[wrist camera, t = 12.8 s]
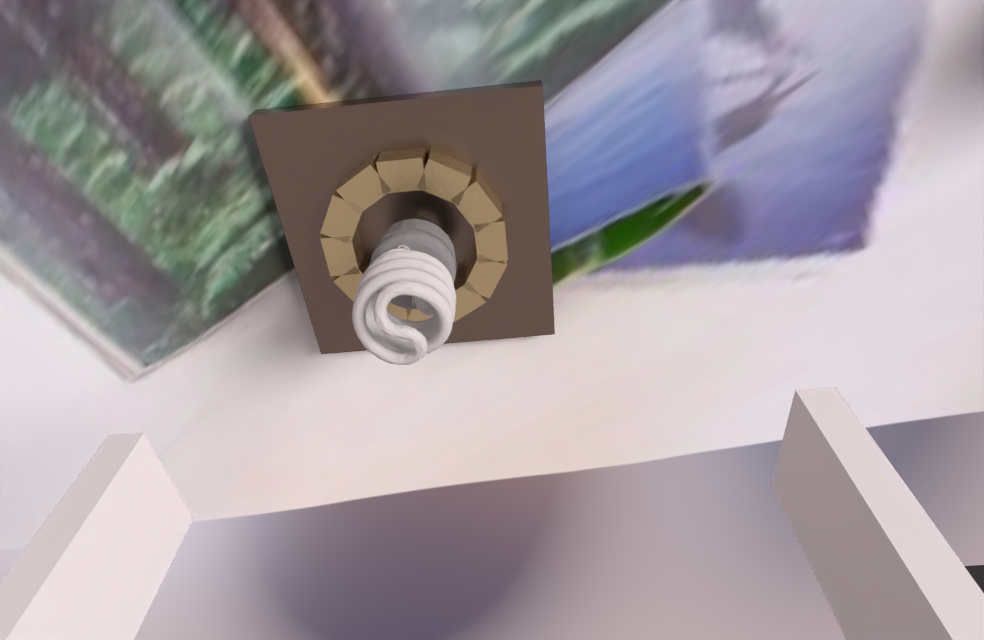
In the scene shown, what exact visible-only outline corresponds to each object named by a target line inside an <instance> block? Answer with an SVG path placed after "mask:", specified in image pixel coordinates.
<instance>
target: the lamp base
mask: <svg viewBox="0 0 984 640" xmlns="http://www.w3.org/2000/svg"><path fill="white" fill-rule="evenodd" d="M249 119H250V123H251V126H252V129H253V132H254V136H255V139H256V142H257V145H258V149H259V152H260V155H261V158H262V162H263V165H264V168H265V171H266V175H267V178H268V181H269V185H270V188H271V191H272V194H273V198H274V201H275V204H276V207H277V211H278V214H279V217H280V220H281V224H282V227H283V230H284V233H285V237H286V240H287V243H288V246H289V250H290V253H291V256H292V260H293V263H294V266H295V269H296V273H297V276H298V279H299V282H300V286H301V289H302V292H303V295H304V299H305V302H306V305H307V308H308V312H309V315H310V318H311V321H312V325H313V328H314V331H315V335H316V338H317V341H318V344H319V348H320V351H321V354H328V353H340V352H352V351H363V350H367V349H366V348H365V347H364V345H363V344H362V342H361V341H360V340H359V338H358V337H357V334H356V331H355V329H354V326H353V322H352V310H353V304H354V297H355V293H356V289H357V287H358V285H359V283H360V280H361V277H362V276H363V274H364V272H365V271H366V269H367V268H368V267H369V266H370V261H371V257H372V253H373V250H374V247H375V245H376V244H377V242H378V241H379V239H380V238H381V236H382V235H383V233H384V232H385V231H386V230H387V229H388V228H389V227H391V226H392V225H393V224H395V223H397V222H400V221H402V220H407V219H420V220H425V221H428V222H431V223H433V224H435V225H437V226H439V227H440V228H441V229H442V230H443V231H444V232H445V233H446V234H447V235H448V236H449V238H450V240H451V242H452V244H453V246H454V251H455V258H456V265H457V269H456V278H455V281H454V288H455V293H456V306H455V307H456V310H455V318H454V322H453V326H452V330H451V333H450V335H449V337H448V339H447V340H446V341H445V342H444V343H443V344H445V343H457V342H469V341H480V340H492V339H504V338H515V337H527V336H539V335H551V334H555V331H554V310H553V289H552V268H551V247H550V226H549V205H548V185H547V164H546V143H545V122H544V101H543V85H542V82H541V81H532V82H523V83H513V84H503V85H493V86H484V87H474V88H464V89H455V90H445V91H435V92H426V93H416V94H406V95H397V96H387V97H377V98H368V99H358V100H348V101H339V102H329V103H319V104H310V105H300V106H290V107H281V108H271V109H261V110H256V111H254V112H253V113H252V114H250V115H249ZM378 293H379V292H377V294H378ZM386 309H387V310H388V311H389V312H390V313H391V314H393V315H395V316H396V317H399V318H401V319H404V320H409V321H423V320H427V319H429V318H432V317H433V316H427V315H424V314H423V313H422V312H420V311H419V310H418V309H405V308H402V307H399V306H396V305H393V304H392V303H390V302H389V303H388V305H387V308H386Z"/></svg>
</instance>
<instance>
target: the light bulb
mask: <svg viewBox="0 0 984 640" xmlns="http://www.w3.org/2000/svg"><path fill="white" fill-rule="evenodd" d="M456 269H457V265H456V258H455V251H454V246H453V244H452V242H451V240H450V238H449V236H448V235H447V234H446V233H445V232H444V231H443V230H442V229H441V228H440V227H439V226H437V225H435V224H433V223H431V222H428V221H425V220H420V219H407V220H402V221H400V222H397V223H395V224H393V225H392V226H391V227H389V228H388V229H387V230H386V231H385V232H384V233H383V235H382V236H381V238H380V239H379V241H378V242H377V244H376V245H375V247H374V250H373V253H372V257H371V261H370V266H369V267H368V268H367V269H366V271H365V272H364V274H363V276H362V277H361V280H360V283H359V285H358V287H357V289H356V293H355V297H354V304H353V310H352V322H353V326H354V329H355V331H356V334H357V337H358V338H359V340H360V341H361V342H362V344H363V345H364V347H365V348H366V349H367V350H369V351H370V352H371V353H372V354H373V355H375V356H376V357H378V358H379V359H381V360H383V361H386V362H388V363H390V364H398V365H409V364H412V363H415V362H417V361H418V360H420V359H421V358H422V357H423V356H425V354H427V353H430V352H432V351H434V350H436V349H437V348H439V347H440V346H441V345H442V344H443V343H444V342H445V341H446V340H447V339H448V337H449V335H450V333H451V330H452V326H453V322H454V318H455V310H456V307H455V306H456V293H455V288H454V281H455V278H456ZM377 292H379V293H378V294H377ZM389 302H390V303H392V304H393V305H396V306H399V307H402V308H405V309H418V310H419V311H420V312H422V313H423V314H424V315H427V316H433V317H432V318H429V319H427V320H423V321H409V320H404V319H401V318H399V317H396V316H395V315H393V314H391V313H390V312H389V311H388V310H387V309H386V308H387V305H388V303H389Z"/></svg>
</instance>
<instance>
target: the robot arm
mask: <svg viewBox="0 0 984 640" xmlns="http://www.w3.org/2000/svg"><path fill="white" fill-rule="evenodd" d="M771 485H772V487H773V489H774V491H775V493H776V495H777V497H778V500H779V502H780V504H781V506H782V508H783V510H784V512H785V514H786V516H787V518H788V520H789V522H790V524H791V526H792V529H793V531H794V533H795V534H796V537H797V539H798V541H799V543H800V545H801V547H802V549H803V551H804V553H805V556H806V558H807V560H808V562H809V564H810V566H811V568H812V570H813V572H814V574H815V576H816V578H817V580H818V582H819V584H820V587H821V589H822V591H823V593H824V595H825V597H826V599H827V601H828V603H829V605H830V607H831V609H832V611H833V613H834V616H835V618H836V620H837V622H838V624H839V626H840V628H841V630H842V632H843V634H844V636H845V638H846V640H984V565H978V566H964V565H963V564H962V563H961V561H960V560H959V558H958V557H957V555H956V554H955V553H954V551H953V550H952V549H951V547H950V546H949V544H948V543H947V542H946V540H945V539H944V537H943V536H942V535H941V533H940V532H939V530H938V529H937V528H936V526H935V525H934V523H933V522H932V521H931V519H930V518H929V517H928V515H927V514H926V512H925V511H924V509H923V508H922V507H921V505H920V504H919V502H918V501H917V500H916V498H915V497H914V495H913V494H912V493H911V491H910V490H909V489H908V487H907V486H906V484H905V483H904V482H903V480H902V479H901V477H900V476H899V475H898V473H897V472H896V470H895V469H894V468H893V466H892V465H891V463H890V462H889V461H888V459H887V458H886V456H885V455H884V454H883V452H882V451H881V450H880V448H879V447H878V445H877V444H876V443H875V441H874V440H873V438H872V437H871V436H870V434H869V433H868V431H867V430H866V429H865V427H864V426H863V424H862V423H861V422H860V420H859V419H858V417H857V416H856V415H855V413H854V412H853V410H852V409H851V408H850V406H849V405H848V403H847V402H846V401H845V399H844V398H843V396H842V395H841V394H840V392H839V391H838V390H837V388H836V387H833V388H818V389H802V390H795V394H794V398H793V402H792V406H791V409H790V413H789V417H788V421H787V425H786V429H785V433H784V437H783V441H782V445H781V449H780V453H779V457H778V460H777V465H776V468H775V472H774V476H773V480H772V484H771ZM192 520H193V516H192V515H191V513H190V511H189V510H188V508H187V506H186V504H185V503H184V501H183V499H182V498H181V496H180V494H179V492H178V491H177V489H176V487H175V485H174V484H173V482H172V480H171V479H170V477H169V475H168V473H167V472H166V470H165V468H164V467H163V465H162V463H161V461H160V460H159V458H158V456H157V454H156V453H155V451H154V449H153V448H152V446H151V444H150V442H149V441H148V439H147V437H146V436H145V434H144V433H136V434H121V435H108V436H107V438H106V439H105V440H104V442H103V443H102V445H101V446H100V447H99V449H98V450H97V451H96V453H95V454H94V455H93V457H92V458H91V460H90V461H89V462H88V464H87V465H86V466H85V468H84V469H83V470H82V472H81V473H80V475H79V476H78V477H77V479H76V480H75V481H74V483H73V484H72V485H71V487H70V488H69V490H68V491H67V492H66V494H65V495H64V496H63V498H62V499H61V500H60V502H59V503H58V505H57V506H56V507H55V509H54V510H53V511H52V513H51V514H50V515H49V517H48V518H47V520H46V521H45V522H44V524H43V525H42V526H41V528H40V529H39V530H38V532H37V533H36V535H35V536H34V537H33V539H32V540H31V541H30V543H29V544H28V545H27V547H26V548H25V550H24V551H23V552H22V554H21V555H20V557H19V558H18V559H17V560H16V562H15V563H14V565H13V566H12V567H11V569H10V570H9V572H8V573H7V574H6V575H5V577H4V578H3V580H2V581H1V582H0V640H134V638H135V636H136V634H137V632H138V630H139V628H140V626H141V624H142V622H143V620H144V618H145V615H146V613H147V611H148V609H149V607H150V605H151V603H152V601H153V599H154V597H155V595H156V593H157V591H158V589H159V587H160V585H161V583H162V581H163V579H164V577H165V575H166V573H167V571H168V569H169V567H170V565H171V563H172V561H173V559H174V557H175V555H176V553H177V551H178V549H179V546H180V545H181V543H182V540H183V538H184V536H185V534H186V532H187V530H188V528H189V526H190V524H191V522H192Z"/></svg>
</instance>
